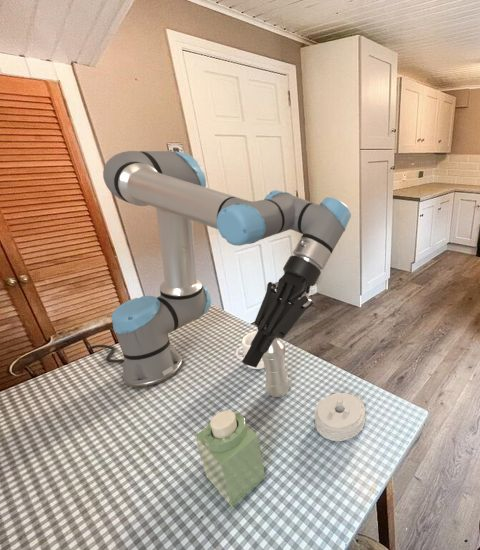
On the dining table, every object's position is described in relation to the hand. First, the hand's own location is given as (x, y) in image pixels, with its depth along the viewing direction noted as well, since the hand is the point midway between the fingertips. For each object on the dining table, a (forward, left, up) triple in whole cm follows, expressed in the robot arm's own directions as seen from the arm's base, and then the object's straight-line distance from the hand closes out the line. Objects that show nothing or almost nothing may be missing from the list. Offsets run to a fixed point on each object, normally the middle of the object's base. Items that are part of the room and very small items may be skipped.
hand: (249, 364), depth 60 cm
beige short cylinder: (0, -7, -11) cm, 13 cm away
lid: (+8, +17, -25) cm, 31 cm away
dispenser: (0, -7, -25) cm, 25 cm away
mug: (-29, +18, -25) cm, 42 cm away
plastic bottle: (-13, +14, -25) cm, 31 cm away
